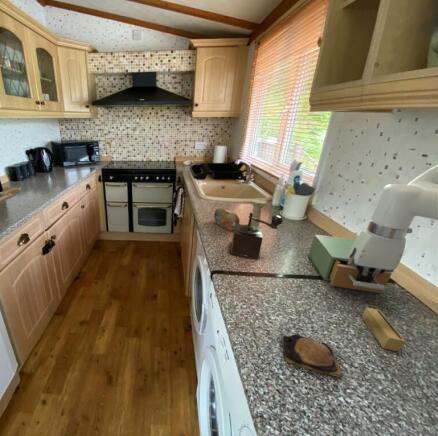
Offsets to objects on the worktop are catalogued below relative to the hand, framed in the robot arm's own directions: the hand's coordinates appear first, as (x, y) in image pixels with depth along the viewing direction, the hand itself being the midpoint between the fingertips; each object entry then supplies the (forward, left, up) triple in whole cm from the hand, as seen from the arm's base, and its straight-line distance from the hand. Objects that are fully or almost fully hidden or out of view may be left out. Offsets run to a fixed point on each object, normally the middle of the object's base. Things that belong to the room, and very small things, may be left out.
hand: (361, 284), depth 73 cm
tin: (+38, -40, -4) cm, 56 cm away
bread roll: (+21, +27, -4) cm, 35 cm away
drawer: (0, -7, -3) cm, 8 cm away
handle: (+26, -39, -4) cm, 47 cm away
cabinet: (0, -14, -4) cm, 14 cm away
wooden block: (+2, +15, -4) cm, 16 cm away
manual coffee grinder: (+29, -18, -4) cm, 34 cm away
